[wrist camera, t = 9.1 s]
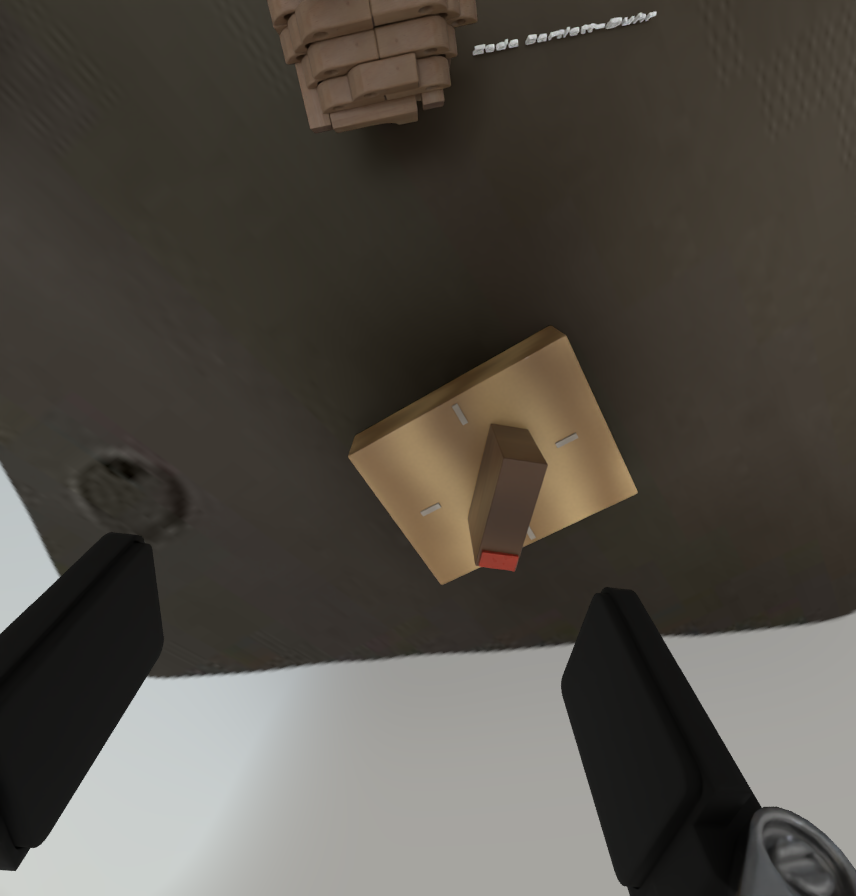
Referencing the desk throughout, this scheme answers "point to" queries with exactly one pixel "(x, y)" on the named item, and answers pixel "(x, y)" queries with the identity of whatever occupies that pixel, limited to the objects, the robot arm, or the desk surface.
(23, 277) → the desk surface
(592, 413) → the wooden dial board
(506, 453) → the arm
